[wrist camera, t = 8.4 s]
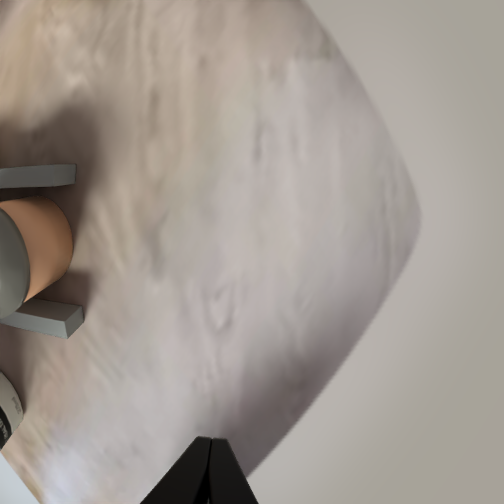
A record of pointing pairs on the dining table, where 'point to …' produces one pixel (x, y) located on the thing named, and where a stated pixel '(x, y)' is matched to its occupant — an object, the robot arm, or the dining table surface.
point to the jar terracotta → (31, 249)
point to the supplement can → (8, 410)
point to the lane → (34, 310)
